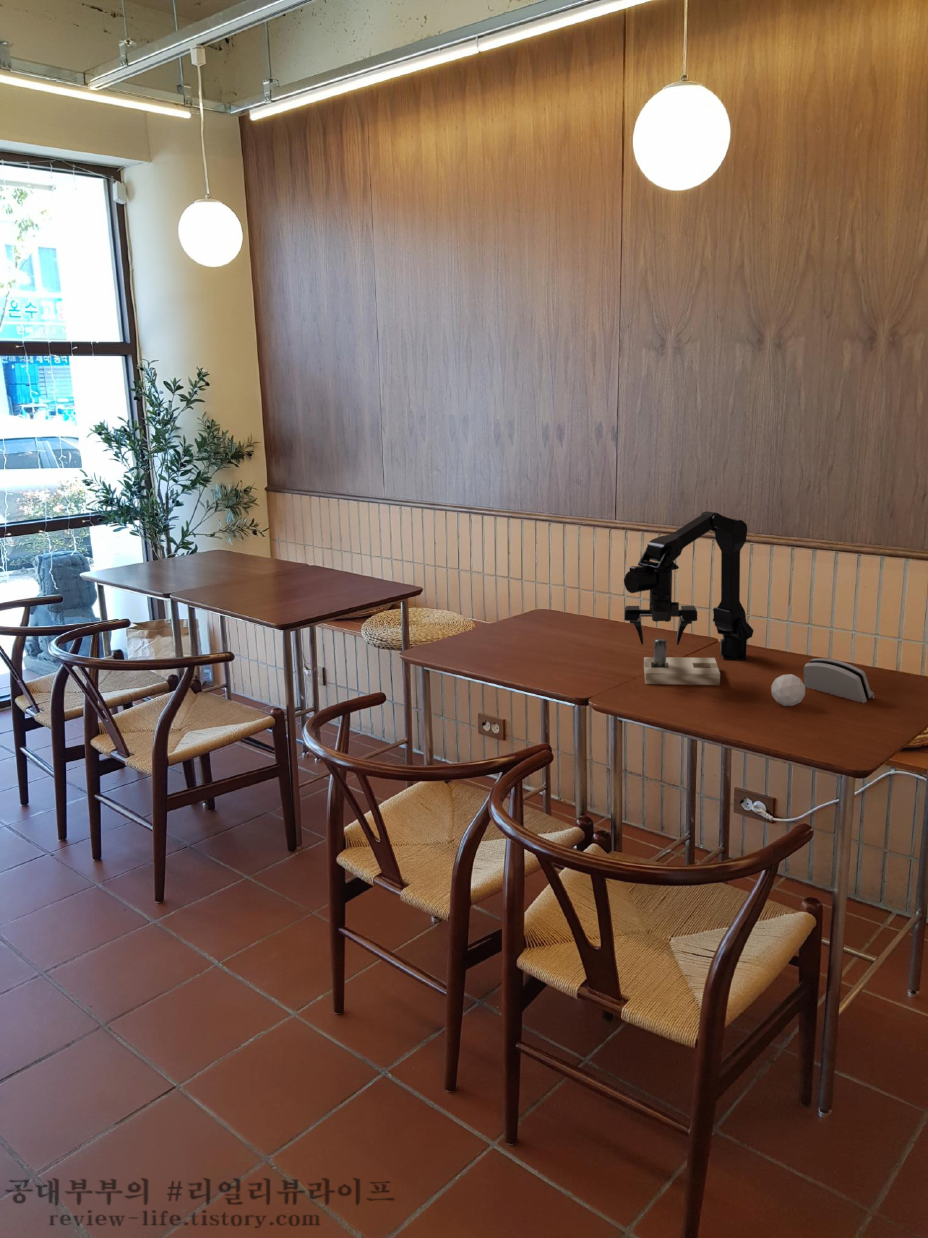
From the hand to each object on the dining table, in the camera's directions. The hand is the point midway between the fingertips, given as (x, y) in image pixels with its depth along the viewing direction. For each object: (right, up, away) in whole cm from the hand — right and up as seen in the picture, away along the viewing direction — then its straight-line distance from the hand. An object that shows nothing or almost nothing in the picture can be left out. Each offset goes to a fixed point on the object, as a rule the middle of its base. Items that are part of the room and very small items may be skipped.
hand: (659, 644), depth 250 cm
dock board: (+6, -8, +1) cm, 10 cm away
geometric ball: (+26, -14, -22) cm, 37 cm away
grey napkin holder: (+41, -12, -16) cm, 45 cm away
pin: (+1, -8, +2) cm, 9 cm away
